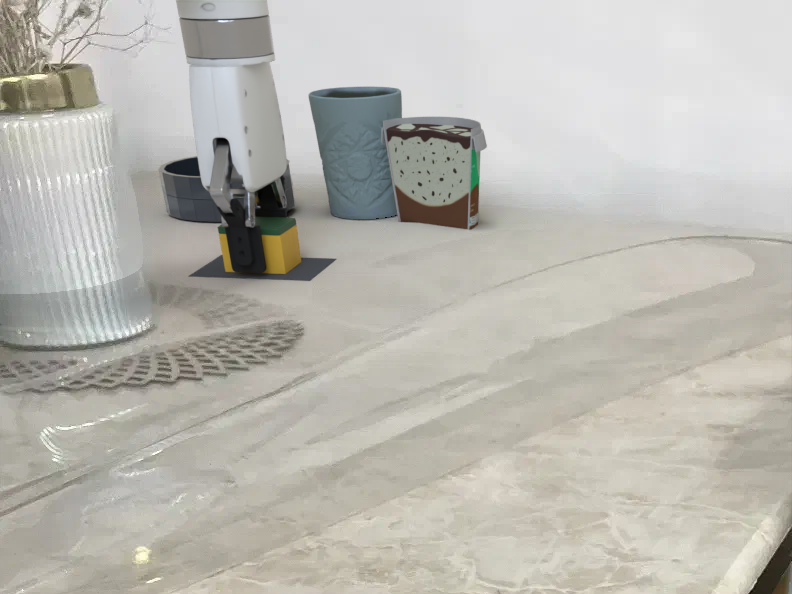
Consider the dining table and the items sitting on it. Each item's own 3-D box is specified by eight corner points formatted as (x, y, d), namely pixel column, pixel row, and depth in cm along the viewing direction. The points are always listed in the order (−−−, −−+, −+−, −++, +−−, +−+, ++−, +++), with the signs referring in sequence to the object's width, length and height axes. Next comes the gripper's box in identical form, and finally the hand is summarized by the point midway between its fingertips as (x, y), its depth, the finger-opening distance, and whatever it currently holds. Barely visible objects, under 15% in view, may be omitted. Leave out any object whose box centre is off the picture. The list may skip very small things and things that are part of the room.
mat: (188, 281, 107) (187, 276, 106) (222, 259, 113) (221, 254, 113) (310, 286, 105) (310, 280, 105) (337, 263, 112) (337, 258, 111)
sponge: (225, 272, 107) (217, 226, 105) (243, 260, 111) (235, 215, 109) (285, 274, 107) (278, 228, 104) (301, 262, 110) (295, 217, 108)
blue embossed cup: (362, 225, 124) (349, 100, 117) (304, 212, 130) (288, 92, 122) (429, 209, 131) (420, 89, 123) (370, 197, 136) (359, 82, 129)
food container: (512, 224, 124) (508, 121, 118) (480, 236, 120) (475, 129, 114) (421, 212, 129) (413, 112, 123) (388, 222, 125) (378, 120, 119)
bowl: (147, 225, 125) (136, 175, 122) (199, 198, 136) (191, 152, 133) (269, 229, 123) (262, 178, 120) (312, 201, 134) (306, 154, 131)
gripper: (226, 32, 105) (259, 239, 116) (142, 52, 91) (188, 285, 102) (303, 32, 104) (329, 241, 115) (231, 53, 90) (268, 288, 101)
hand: (263, 260), depth 108 cm, fingers open, 6 cm apart
